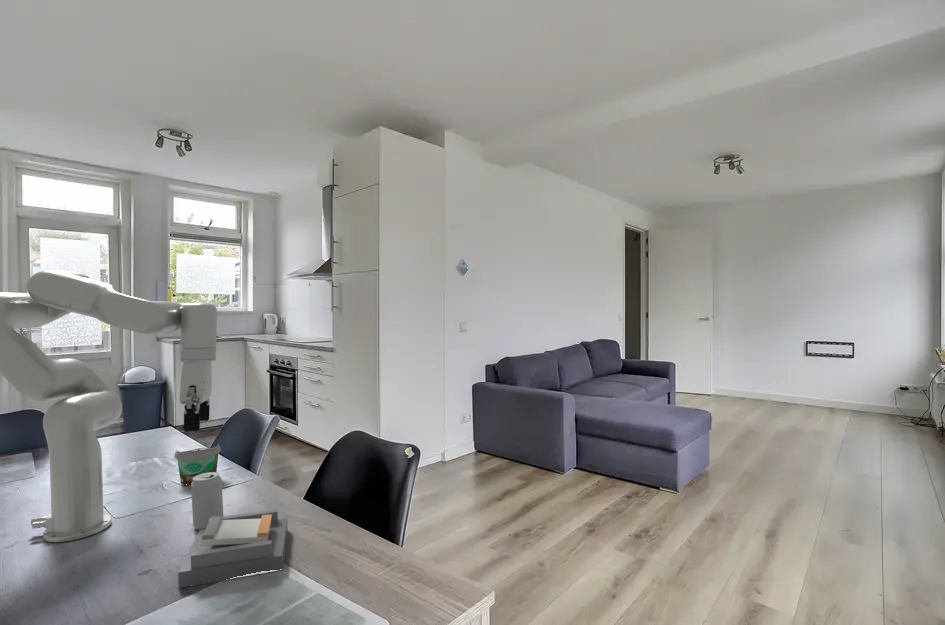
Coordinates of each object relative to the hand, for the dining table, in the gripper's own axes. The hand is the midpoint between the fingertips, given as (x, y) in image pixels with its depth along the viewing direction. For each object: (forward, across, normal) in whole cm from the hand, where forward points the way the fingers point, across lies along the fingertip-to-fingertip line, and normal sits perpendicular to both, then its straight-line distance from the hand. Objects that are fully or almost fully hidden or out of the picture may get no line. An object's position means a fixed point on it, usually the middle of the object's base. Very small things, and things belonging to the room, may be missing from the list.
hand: (197, 425), depth 117 cm
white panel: (+18, +20, +12) cm, 30 cm away
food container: (+24, -30, -6) cm, 40 cm away
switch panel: (+23, +20, +13) cm, 33 cm away
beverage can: (+24, +2, +3) cm, 24 cm away
